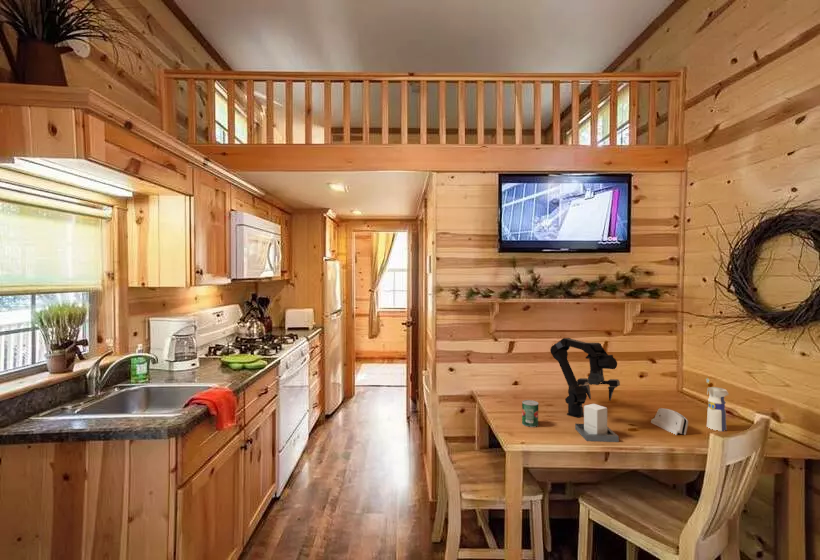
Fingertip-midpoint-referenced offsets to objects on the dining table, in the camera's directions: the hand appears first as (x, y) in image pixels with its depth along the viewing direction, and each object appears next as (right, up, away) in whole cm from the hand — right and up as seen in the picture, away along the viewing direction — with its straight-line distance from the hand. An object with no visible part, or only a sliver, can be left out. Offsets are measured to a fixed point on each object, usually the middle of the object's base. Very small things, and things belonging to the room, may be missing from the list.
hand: (599, 400), depth 192 cm
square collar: (-8, -13, -12) cm, 19 cm away
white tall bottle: (+56, -13, -3) cm, 58 cm away
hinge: (+33, -13, -3) cm, 36 cm away
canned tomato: (-34, -13, +1) cm, 37 cm away
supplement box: (-8, -12, -12) cm, 19 cm away
